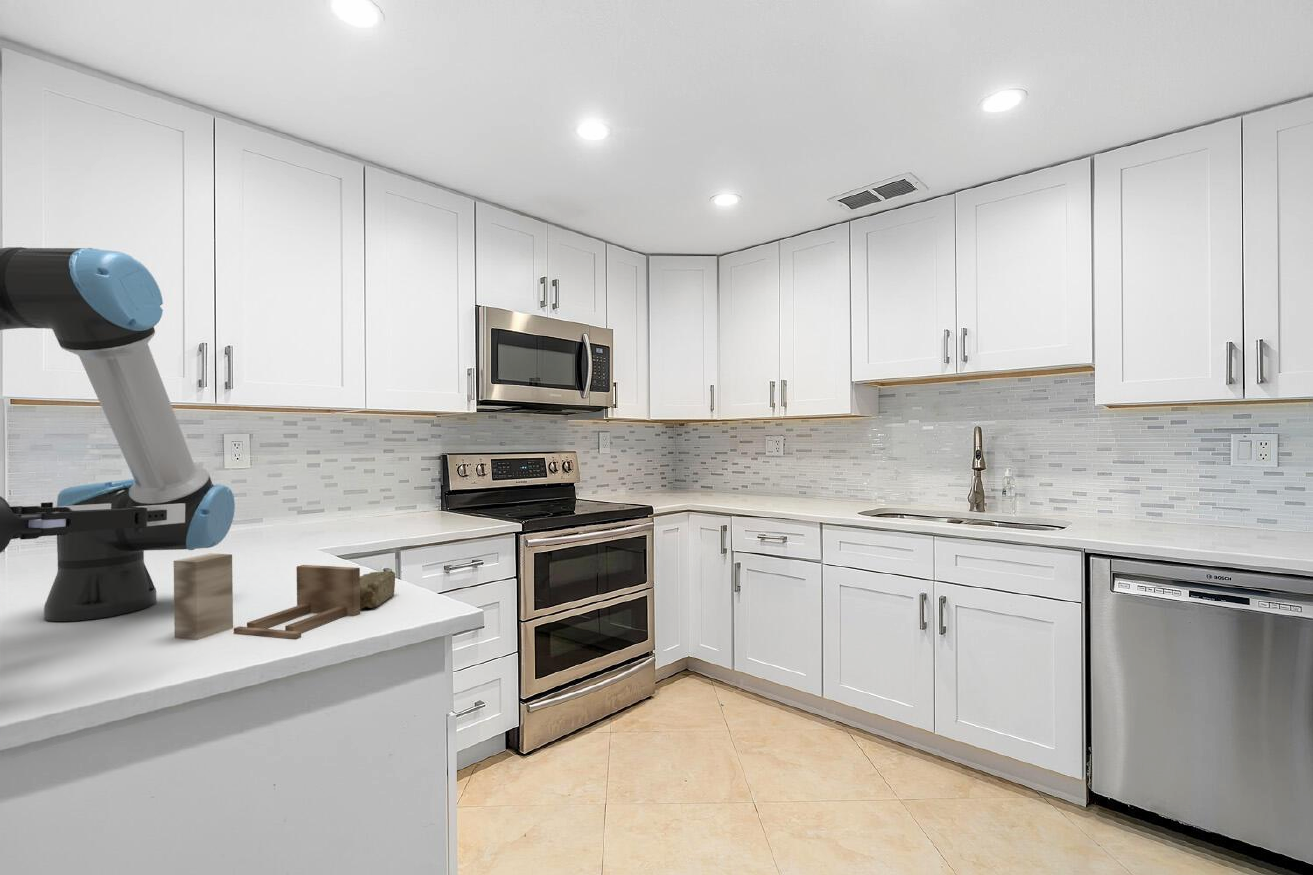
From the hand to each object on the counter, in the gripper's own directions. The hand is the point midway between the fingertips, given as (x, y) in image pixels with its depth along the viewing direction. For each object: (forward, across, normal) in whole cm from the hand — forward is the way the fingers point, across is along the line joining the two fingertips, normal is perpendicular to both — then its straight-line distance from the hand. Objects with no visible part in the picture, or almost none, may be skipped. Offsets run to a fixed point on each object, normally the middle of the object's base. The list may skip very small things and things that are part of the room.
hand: (145, 512), depth 89 cm
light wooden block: (+10, 0, -20) cm, 22 cm away
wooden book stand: (+17, +11, -20) cm, 28 cm away
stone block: (+30, +14, -19) cm, 39 cm away
